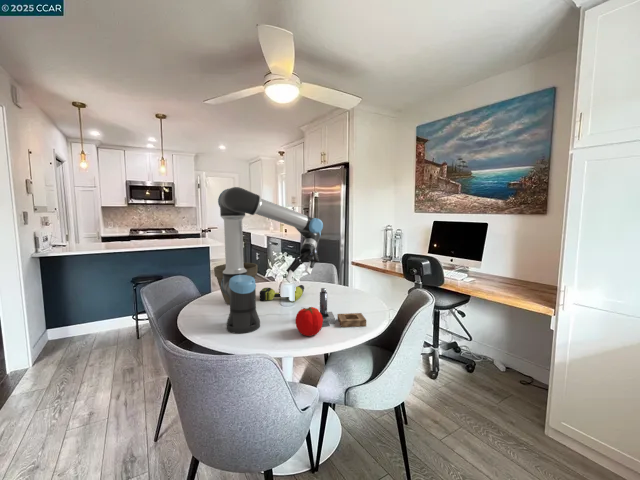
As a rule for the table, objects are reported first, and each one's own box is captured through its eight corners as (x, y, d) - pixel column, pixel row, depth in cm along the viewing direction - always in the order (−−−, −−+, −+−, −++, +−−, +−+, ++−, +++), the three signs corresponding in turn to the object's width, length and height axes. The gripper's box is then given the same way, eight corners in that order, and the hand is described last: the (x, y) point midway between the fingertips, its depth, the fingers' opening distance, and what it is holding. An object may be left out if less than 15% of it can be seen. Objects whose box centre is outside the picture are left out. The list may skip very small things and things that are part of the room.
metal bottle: (320, 321, 145) (320, 289, 143) (319, 319, 148) (319, 287, 147) (327, 321, 145) (327, 289, 144) (326, 318, 149) (326, 287, 147)
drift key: (313, 328, 136) (313, 326, 136) (312, 327, 138) (312, 325, 138) (329, 326, 139) (329, 324, 139) (328, 324, 141) (328, 323, 141)
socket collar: (314, 324, 141) (314, 319, 141) (312, 317, 151) (312, 312, 151) (335, 323, 142) (335, 318, 142) (332, 316, 152) (332, 311, 152)
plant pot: (212, 309, 164) (211, 270, 162) (217, 297, 187) (216, 263, 186) (258, 306, 169) (258, 268, 168) (257, 294, 193) (257, 261, 191)
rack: (340, 327, 138) (341, 321, 137) (337, 319, 148) (337, 313, 147) (366, 326, 139) (366, 320, 139) (361, 318, 149) (361, 313, 149)
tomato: (290, 337, 126) (290, 310, 125) (301, 326, 139) (301, 302, 138) (318, 340, 123) (318, 313, 122) (326, 329, 136) (326, 304, 135)
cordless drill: (271, 290, 204) (307, 292, 199) (258, 302, 179) (298, 304, 175) (271, 280, 203) (307, 282, 199) (257, 290, 178) (298, 292, 174)
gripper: (330, 245, 155) (322, 274, 139) (296, 260, 168) (284, 288, 152) (322, 235, 152) (312, 263, 136) (287, 251, 165) (275, 279, 149)
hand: (297, 276), depth 144 cm, fingers open, 13 cm apart
